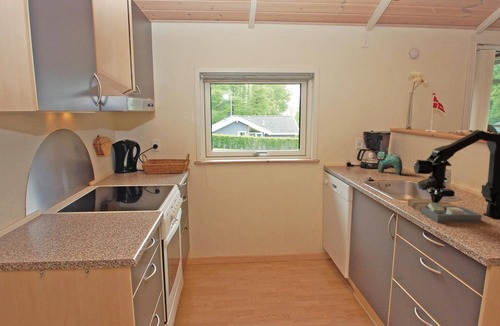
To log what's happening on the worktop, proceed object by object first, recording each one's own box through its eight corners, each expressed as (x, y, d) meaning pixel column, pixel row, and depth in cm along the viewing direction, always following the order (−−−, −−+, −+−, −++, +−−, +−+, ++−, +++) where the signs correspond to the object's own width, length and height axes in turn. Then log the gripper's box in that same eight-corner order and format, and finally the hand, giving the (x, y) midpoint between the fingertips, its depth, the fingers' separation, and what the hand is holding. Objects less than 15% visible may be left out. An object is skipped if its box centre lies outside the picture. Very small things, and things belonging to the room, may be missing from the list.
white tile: (463, 215, 147) (464, 210, 146) (452, 215, 147) (452, 210, 147) (457, 212, 152) (457, 207, 151) (446, 212, 152) (447, 207, 152)
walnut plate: (458, 213, 155) (459, 207, 155) (422, 213, 155) (423, 207, 154) (440, 204, 169) (441, 199, 168) (407, 205, 168) (408, 199, 168)
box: (480, 222, 142) (481, 215, 142) (437, 222, 142) (438, 215, 141) (460, 213, 155) (461, 206, 155) (421, 213, 154) (421, 206, 154)
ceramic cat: (375, 172, 261) (377, 148, 257) (379, 171, 265) (381, 147, 262) (399, 175, 246) (401, 150, 242) (403, 174, 250) (405, 149, 247)
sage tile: (443, 213, 149) (445, 210, 148) (432, 213, 150) (434, 210, 148) (438, 206, 153) (440, 202, 152) (428, 206, 153) (429, 202, 152)
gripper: (411, 170, 160) (408, 200, 163) (433, 178, 141) (429, 212, 144) (432, 170, 160) (429, 200, 163) (457, 178, 142) (453, 212, 144)
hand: (434, 205), depth 154 cm, fingers closed
